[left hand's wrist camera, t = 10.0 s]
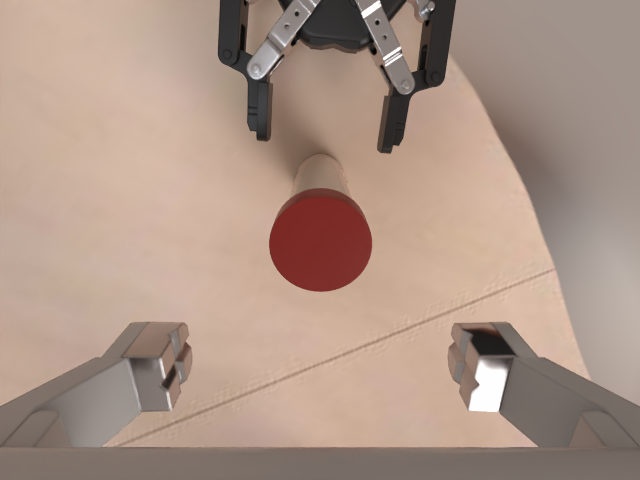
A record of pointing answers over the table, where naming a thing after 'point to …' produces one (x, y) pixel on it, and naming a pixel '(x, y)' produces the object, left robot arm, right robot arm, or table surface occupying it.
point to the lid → (320, 240)
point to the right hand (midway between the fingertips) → (324, 146)
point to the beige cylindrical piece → (320, 175)
